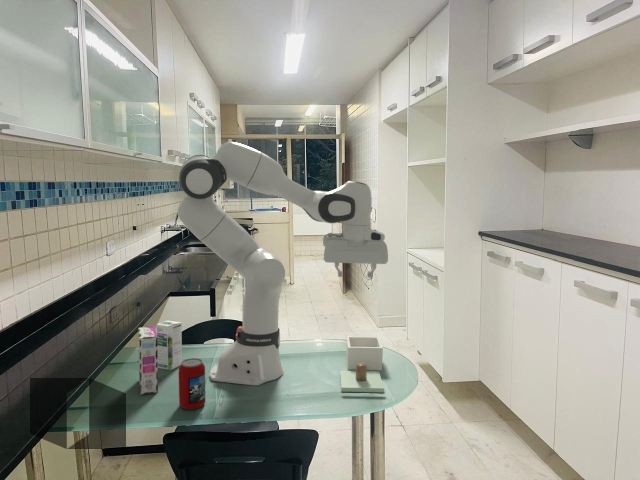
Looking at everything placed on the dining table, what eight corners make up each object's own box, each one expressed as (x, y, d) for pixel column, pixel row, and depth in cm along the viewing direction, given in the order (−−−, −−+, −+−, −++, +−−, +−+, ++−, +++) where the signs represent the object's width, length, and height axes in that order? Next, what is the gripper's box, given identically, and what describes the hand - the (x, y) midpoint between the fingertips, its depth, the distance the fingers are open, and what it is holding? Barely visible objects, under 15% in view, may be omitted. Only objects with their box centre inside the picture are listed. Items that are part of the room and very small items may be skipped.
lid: (341, 395, 129) (341, 372, 128) (339, 378, 141) (340, 356, 140) (383, 396, 129) (384, 373, 128) (378, 378, 141) (379, 357, 140)
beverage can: (198, 412, 118) (197, 368, 116) (174, 409, 119) (173, 365, 118) (209, 400, 124) (209, 358, 123) (187, 398, 126) (186, 356, 124)
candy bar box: (159, 392, 129) (157, 336, 127) (140, 395, 127) (138, 338, 125) (156, 377, 139) (155, 325, 137) (138, 380, 137) (137, 327, 135)
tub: (347, 371, 145) (348, 347, 145) (346, 358, 156) (346, 336, 155) (382, 372, 145) (382, 348, 144) (378, 359, 156) (378, 336, 155)
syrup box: (156, 368, 146) (155, 324, 144) (168, 361, 151) (167, 319, 150) (170, 371, 144) (169, 326, 142) (182, 364, 149) (182, 321, 148)
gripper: (322, 233, 140) (321, 278, 142) (389, 235, 139) (387, 279, 141) (323, 231, 146) (322, 274, 148) (387, 233, 145) (385, 276, 147)
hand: (355, 277), depth 144 cm, fingers open, 8 cm apart
